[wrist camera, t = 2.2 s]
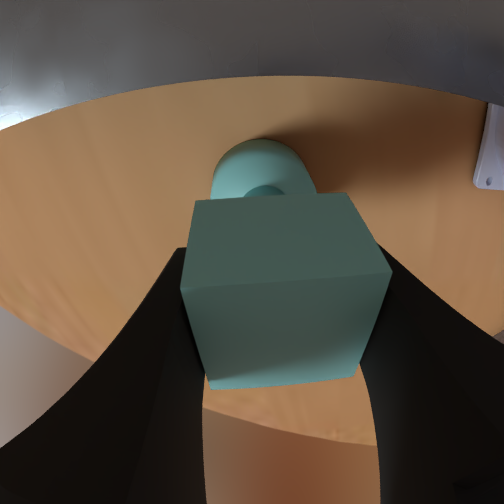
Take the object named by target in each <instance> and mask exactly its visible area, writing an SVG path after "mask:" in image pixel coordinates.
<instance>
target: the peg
mask: <svg viewBox="0 0 504 504" xmlns="http://www.w3.org/2000/svg"><path fill="white" fill-rule="evenodd" d="M391 275H392V270H391V268H390V266H389V264H388V262H387V261H386V259H385V257H384V255H383V253H382V252H381V250H380V248H379V246H378V245H377V243H376V241H375V239H374V238H373V236H372V234H371V232H370V231H369V229H368V227H367V226H366V224H365V222H364V221H363V219H362V217H361V216H360V214H359V212H358V211H357V209H356V208H355V206H354V204H353V203H352V201H351V200H350V198H349V196H348V195H347V193H317V191H316V188H315V185H314V183H313V181H312V179H311V177H310V175H309V173H308V172H307V170H306V168H305V166H304V164H303V162H302V160H301V159H300V157H299V156H298V155H297V154H296V153H295V152H294V151H293V150H292V149H291V148H290V147H288V146H286V145H285V144H282V143H280V142H277V141H274V140H268V139H255V140H249V141H245V142H243V143H240V144H238V145H236V146H234V147H233V148H231V149H230V150H229V151H228V152H227V153H225V154H224V156H223V157H222V158H221V159H220V161H219V162H218V164H217V166H216V169H215V171H214V175H213V182H212V190H211V199H210V200H198V201H195V206H194V211H193V216H192V222H191V227H190V232H189V238H188V243H187V249H186V255H185V261H184V267H183V273H182V279H181V285H180V290H181V293H182V297H183V300H184V304H185V308H186V311H187V315H188V318H189V321H190V325H191V328H192V332H193V335H194V338H195V341H196V345H197V348H198V351H199V354H200V358H201V361H202V364H203V367H204V370H205V373H206V376H207V379H208V382H209V385H210V388H211V390H217V389H241V388H257V387H270V386H282V385H292V384H301V383H310V382H318V381H325V380H332V379H339V378H345V377H352V376H354V374H355V371H356V369H357V367H358V364H359V362H360V360H361V357H362V355H363V352H364V350H365V347H366V345H367V342H368V340H369V337H370V335H371V332H372V330H373V327H374V324H375V322H376V319H377V316H378V314H379V311H380V308H381V305H382V302H383V299H384V296H385V294H386V291H387V288H388V285H389V281H390V278H391Z"/></svg>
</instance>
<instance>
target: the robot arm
mask: <svg viewBox="0 0 504 504" xmlns="http://www.w3.org/2000/svg"><path fill="white" fill-rule="evenodd" d="M487 178H488V179H487ZM486 180H487V181H486ZM473 183H474V184H475V186H477V187H478V188H480V189H493V190H504V107H502V106H499V105H495V104H492V103H489V104H488V110H487V117H486V122H485V128H484V133H483V138H482V143H481V148H480V152H479V156H478V161H477V165H476V169H475V173H474V177H473ZM377 245H378V246H379V248H380V250H381V252H382V253H383V255H384V257H385V259H386V261H387V262H388V264H389V266H390V268H391V270H392V275H391V278H390V281H389V285H388V288H387V291H386V294H385V296H384V299H383V302H382V305H381V308H380V311H379V314H378V316H377V319H376V322H375V324H374V327H373V330H372V332H371V335H370V337H369V340H368V342H367V345H366V347H365V350H364V352H363V355H362V357H361V360H360V362H359V363H360V366H361V369H362V372H363V375H364V378H365V382H366V385H367V389H368V393H369V397H370V402H371V407H372V413H373V419H374V425H375V432H376V439H377V447H378V457H379V470H380V489H381V490H380V494H381V495H380V497H381V504H504V344H503V343H501V342H499V341H498V340H496V339H495V338H493V337H492V336H490V335H489V334H487V333H486V332H484V331H483V330H481V329H480V328H479V327H477V326H476V325H475V324H473V323H472V322H471V321H469V320H468V319H466V318H465V317H464V316H462V315H461V314H460V313H458V312H457V311H456V310H455V309H453V308H452V307H451V306H450V305H448V304H447V303H446V302H445V301H443V300H442V299H441V298H440V297H439V296H437V295H436V294H435V293H434V292H433V291H431V290H430V289H429V288H428V287H427V286H426V285H424V284H423V283H422V282H421V281H420V280H419V279H417V278H416V277H415V276H414V275H413V274H412V273H411V272H409V271H408V270H407V269H406V268H405V267H404V266H403V265H402V264H400V263H399V262H398V261H397V260H396V259H395V258H394V257H393V256H391V255H390V254H389V253H388V252H387V251H386V250H385V249H383V248H382V247H381V246H380V245H379V244H378V243H377ZM186 249H187V247H183V248H177V249H176V251H175V252H174V253H173V255H172V257H171V258H170V260H169V261H168V263H167V264H166V266H165V268H164V269H163V271H162V272H161V274H160V275H159V277H158V279H157V280H156V282H155V283H154V285H153V286H152V288H151V289H150V291H149V292H148V293H147V295H146V296H145V298H144V299H143V301H142V302H141V304H140V305H139V307H138V308H137V310H136V311H135V312H134V314H133V315H132V316H131V318H130V319H129V320H128V322H127V323H126V324H125V326H124V327H123V328H122V330H121V331H120V333H119V334H118V335H117V336H116V338H115V339H114V340H113V341H112V343H111V344H110V345H109V346H108V348H107V349H106V350H105V351H104V352H103V353H102V355H101V356H100V357H99V358H98V359H97V361H96V362H95V363H94V364H93V365H92V366H91V367H90V369H89V370H87V372H86V373H85V374H84V375H83V376H82V377H81V378H80V379H79V380H78V381H77V382H76V383H75V384H74V385H73V386H72V388H71V389H70V390H69V391H68V392H67V393H66V394H65V395H64V396H62V397H61V398H60V399H59V400H58V401H57V402H56V403H55V404H54V405H53V406H52V407H51V408H49V410H47V411H46V412H45V413H44V414H43V415H42V416H41V417H40V418H38V419H37V420H36V421H35V422H34V423H33V424H31V425H30V426H29V427H28V428H26V429H25V430H24V431H22V432H21V433H20V434H18V435H17V436H16V437H15V438H13V439H12V440H11V441H10V442H8V443H7V444H5V445H4V446H3V447H1V448H0V504H207V503H206V491H205V478H204V465H203V464H204V462H203V440H202V401H203V390H204V380H205V370H204V367H203V364H202V361H201V358H200V354H199V351H198V348H197V345H196V341H195V338H194V335H193V332H192V328H191V325H190V321H189V318H188V315H187V311H186V308H185V304H184V300H183V297H182V293H181V290H180V285H181V279H182V273H183V267H184V261H185V255H186Z"/></svg>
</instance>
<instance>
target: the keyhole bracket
mask: <svg viewBox="0 0 504 504" xmlns="http://www.w3.org/2000/svg"><path fill="white" fill-rule="evenodd" d="M248 76H327V77H344V78H356V79H367V80H376V81H385V82H392V83H399V84H406V85H412V86H418V87H424V88H429V89H434V90H439V91H444V92H449V93H453V94H458V95H462V96H466V97H470V98H474V99H478V100H481V101H485V102H488V103H492V104H495V105H499V106H502V107H504V0H0V130H1V129H4V128H6V127H9V126H11V125H14V124H17V123H19V122H22V121H25V120H27V119H30V118H33V117H36V116H39V115H42V114H45V113H48V112H51V111H54V110H57V109H60V108H64V107H67V106H71V105H74V104H78V103H81V102H85V101H89V100H93V99H97V98H101V97H105V96H109V95H114V94H118V93H123V92H128V91H133V90H138V89H143V88H149V87H155V86H161V85H167V84H174V83H181V82H189V81H198V80H207V79H218V78H231V77H248Z"/></svg>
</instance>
